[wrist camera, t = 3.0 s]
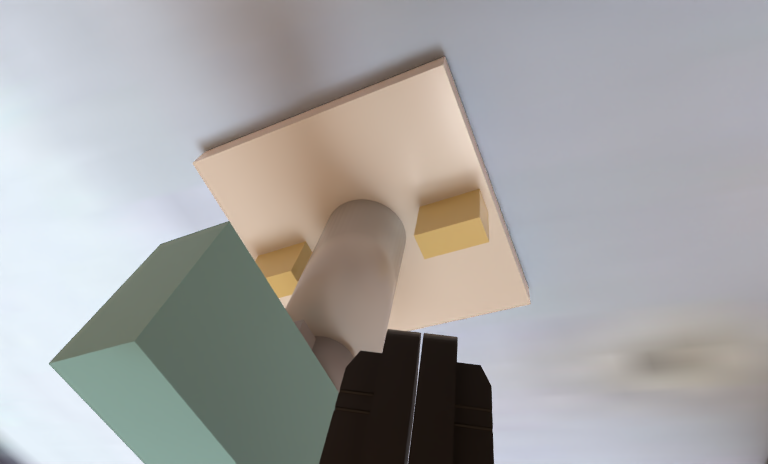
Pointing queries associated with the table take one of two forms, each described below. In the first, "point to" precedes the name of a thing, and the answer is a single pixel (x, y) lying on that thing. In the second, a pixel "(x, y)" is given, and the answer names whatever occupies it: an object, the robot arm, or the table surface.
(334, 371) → the pale green block
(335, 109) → the post base
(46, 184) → the table surface
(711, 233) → the table surface
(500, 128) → the table surface
